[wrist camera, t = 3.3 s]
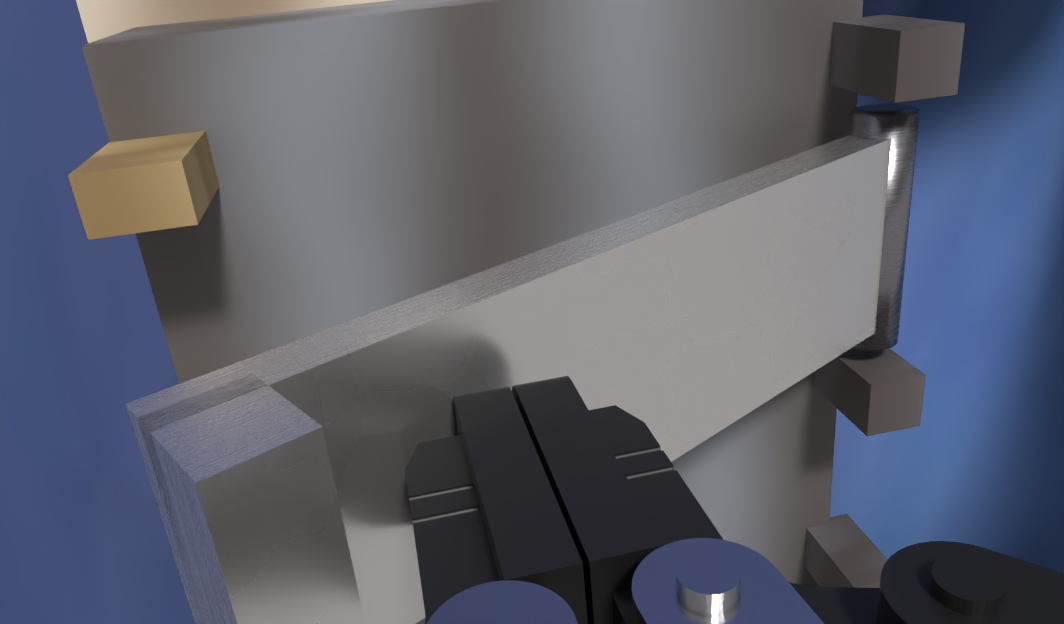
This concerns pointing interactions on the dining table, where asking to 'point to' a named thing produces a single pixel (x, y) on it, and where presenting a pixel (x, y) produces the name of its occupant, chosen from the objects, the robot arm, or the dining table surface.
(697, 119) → the heat sink base
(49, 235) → the dining table surface
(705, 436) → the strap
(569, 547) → the robot arm
